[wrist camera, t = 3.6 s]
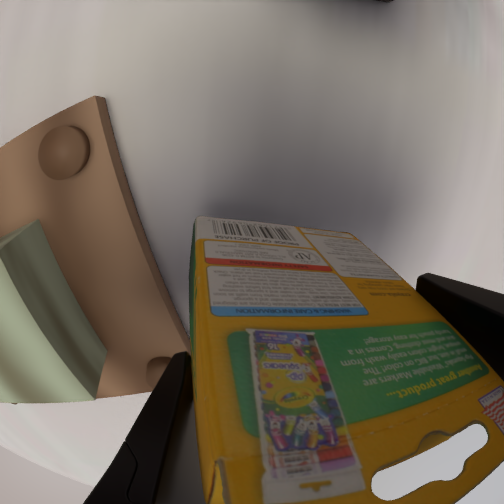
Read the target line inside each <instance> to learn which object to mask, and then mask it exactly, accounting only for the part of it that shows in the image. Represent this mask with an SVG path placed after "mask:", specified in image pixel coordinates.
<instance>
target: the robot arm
mask: <svg viewBox="0 0 504 504" xmlns="http://www.w3.org/2000/svg"><path fill="white" fill-rule="evenodd" d="M378 1H383V2H391V1H393V0H378ZM416 291H417V292H418V293H419V294H420V295H421V296H422V297H423V298H424V299H425V300H426V301H427V302H429V303H430V304H431V305H432V306H433V307H434V308H435V309H436V310H437V311H438V312H439V313H440V314H441V315H442V316H443V317H444V318H445V319H446V320H447V321H448V322H449V323H450V324H451V325H452V326H453V327H454V328H455V329H456V330H457V331H458V332H459V333H460V334H461V335H462V336H463V337H464V338H465V339H466V340H467V342H468V343H469V344H470V345H471V346H472V347H473V348H474V349H475V350H476V351H477V352H478V353H479V354H480V355H481V356H482V358H483V359H484V360H485V361H486V362H487V363H488V364H489V365H490V367H491V368H492V369H493V370H494V371H495V372H496V373H497V374H498V376H499V377H500V378H501V379H502V380H503V381H504V294H501V293H498V292H494V291H491V290H487V289H484V288H481V287H477V286H474V285H470V284H467V283H463V282H460V281H456V280H453V279H449V278H445V277H442V276H438V275H435V274H431V273H425V274H423V275H420V276H419V277H418V279H417V284H416ZM83 504H206V502H205V499H204V493H203V487H202V480H201V472H200V464H199V456H198V447H197V438H196V425H195V413H194V401H193V385H192V372H191V356H190V354H189V353H188V352H187V351H183V352H179V353H175V354H174V355H173V356H172V358H171V360H170V362H169V363H168V365H167V367H166V368H165V370H164V372H163V374H162V375H161V377H160V379H159V381H158V382H157V384H156V386H155V388H154V389H153V391H152V393H151V395H150V396H149V398H148V400H147V402H146V403H145V405H144V407H143V409H142V410H141V412H140V414H139V416H138V417H137V419H136V421H135V423H134V425H133V426H132V428H131V430H130V432H129V433H128V435H127V437H126V439H125V441H124V442H123V444H122V446H121V448H120V449H119V451H118V453H117V455H116V456H115V458H114V460H113V461H112V463H111V465H110V466H109V468H108V469H107V471H106V472H105V473H104V475H103V476H102V478H101V479H100V481H99V482H98V483H97V485H96V486H95V488H94V489H93V491H92V492H91V493H90V495H89V496H88V498H87V499H86V500H85V501H84V503H83Z"/></svg>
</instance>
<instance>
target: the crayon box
mask: <svg viewBox="0 0 504 504" xmlns="http://www.w3.org/2000/svg"><path fill="white" fill-rule="evenodd" d="M189 313H190V347H191V372H192V385H193V401H194V413H195V425H196V438H197V447H198V456H199V464H200V472H201V480H202V487H203V493H204V499H205V502H206V504H455V503H456V502H457V501H459V500H460V499H461V498H463V497H464V496H465V495H466V494H468V493H469V492H470V491H471V490H472V489H474V488H475V487H476V486H477V485H478V484H480V483H481V482H482V481H483V480H484V479H485V478H486V477H487V476H488V475H490V474H491V473H492V472H493V471H494V470H495V469H496V468H497V467H498V466H499V465H500V464H501V463H502V462H503V461H504V381H503V380H502V379H501V378H500V377H499V376H498V374H497V373H496V372H495V371H494V370H493V369H492V368H491V367H490V365H489V364H488V363H487V362H486V361H485V360H484V359H483V358H482V356H481V355H480V354H479V353H478V352H477V351H476V350H475V349H474V348H473V347H472V346H471V345H470V344H469V343H468V342H467V340H466V339H465V338H464V337H463V336H462V335H461V334H460V333H459V332H458V331H457V330H456V329H455V328H454V327H453V326H452V325H451V324H450V323H449V322H448V321H447V320H446V319H445V318H444V317H443V316H442V315H441V314H440V313H439V312H438V311H437V310H436V309H435V308H434V307H433V306H432V305H431V304H430V303H429V302H427V301H426V300H425V299H424V298H423V297H422V296H421V295H420V294H419V293H418V292H417V291H416V290H415V289H414V288H413V287H411V286H410V285H409V284H408V283H407V282H406V281H405V280H404V279H403V278H402V277H401V276H399V275H398V274H397V273H396V272H395V271H394V270H393V269H392V268H391V267H390V266H388V265H387V264H386V263H385V262H384V261H383V260H382V259H381V258H379V257H378V256H377V255H376V254H375V253H373V252H372V251H371V250H370V249H369V248H368V247H366V246H365V245H364V244H363V243H362V242H361V241H360V240H358V239H357V238H356V237H355V236H353V235H352V234H350V233H347V232H335V231H328V230H319V229H311V228H303V227H295V226H289V225H280V224H272V223H264V222H255V221H243V220H234V219H224V218H213V217H206V216H198V217H197V218H196V219H195V222H194V226H193V236H192V245H191V256H190V269H189ZM473 424H480V425H482V426H483V427H484V428H485V429H486V432H487V434H488V441H487V443H486V444H485V445H484V446H483V447H482V448H481V449H479V450H478V451H476V452H475V453H474V454H472V455H471V456H470V457H468V458H467V459H466V460H465V462H464V466H463V470H462V472H461V473H460V474H459V475H458V476H457V477H456V478H455V479H453V480H449V481H443V480H438V481H432V482H429V483H427V484H425V485H423V486H421V487H419V488H418V489H416V490H415V491H412V492H410V493H409V494H407V495H405V496H403V497H401V498H399V499H395V500H392V501H391V500H390V501H386V500H382V499H380V498H378V497H377V496H375V495H374V494H373V492H372V489H371V482H372V477H373V476H374V475H375V474H376V473H377V472H378V471H381V470H384V469H386V468H389V467H391V466H394V465H396V464H398V463H401V462H403V461H405V460H407V459H410V458H412V457H414V456H416V455H418V454H421V453H423V452H424V451H427V450H428V449H431V448H433V447H435V446H437V445H439V444H440V443H442V442H444V441H446V440H448V439H449V438H450V437H452V436H453V435H455V434H457V433H459V432H461V431H462V430H464V429H466V428H467V427H468V426H470V425H473Z"/></svg>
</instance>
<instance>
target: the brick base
mask: <svg viewBox="0 0 504 504" xmlns="http://www.w3.org/2000/svg"><path fill="white" fill-rule="evenodd" d="M183 351H187V352H188V353H189V354H190V356H191V347H190V340H189V338H188V336H187V334H186V332H185V329H184V327H183V325H182V323H181V321H180V319H179V316H178V314H177V312H176V310H175V307H174V305H173V303H172V300H171V298H170V296H169V293H168V291H167V289H166V286H165V284H164V282H163V279H162V277H161V274H160V272H159V269H158V267H157V264H156V262H155V259H154V257H153V254H152V251H151V249H150V246H149V243H148V241H147V238H146V235H145V233H144V230H143V227H142V224H141V221H140V219H139V216H138V213H137V210H136V207H135V204H134V201H133V198H132V195H131V192H130V189H129V186H128V182H127V179H126V176H125V173H124V169H123V166H122V163H121V159H120V156H119V152H118V149H117V145H116V141H115V138H114V134H113V130H112V126H111V122H110V118H109V114H108V110H107V106H106V101H105V98H103V97H99V96H93V97H90V98H88V99H86V100H84V101H82V102H79V103H77V104H75V105H73V106H71V107H69V108H67V109H65V110H63V111H61V112H59V113H57V114H55V115H53V116H52V117H50V118H48V119H46V120H44V121H42V122H41V123H39V124H37V125H35V126H34V127H32V128H30V129H29V130H27V131H25V132H24V133H22V134H20V135H19V136H17V137H16V138H14V139H13V140H11V141H10V142H8V143H7V144H5V145H4V146H2V147H1V148H0V402H1V403H12V404H17V403H62V402H80V401H92V400H96V399H97V398H107V397H116V396H124V395H131V394H138V393H145V392H152V391H153V389H154V388H155V386H156V384H157V382H158V381H159V379H160V377H161V375H162V374H163V372H164V370H165V368H166V367H167V365H168V363H169V362H170V360H171V358H172V356H173V355H174V354H175V353H179V352H183Z"/></svg>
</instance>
